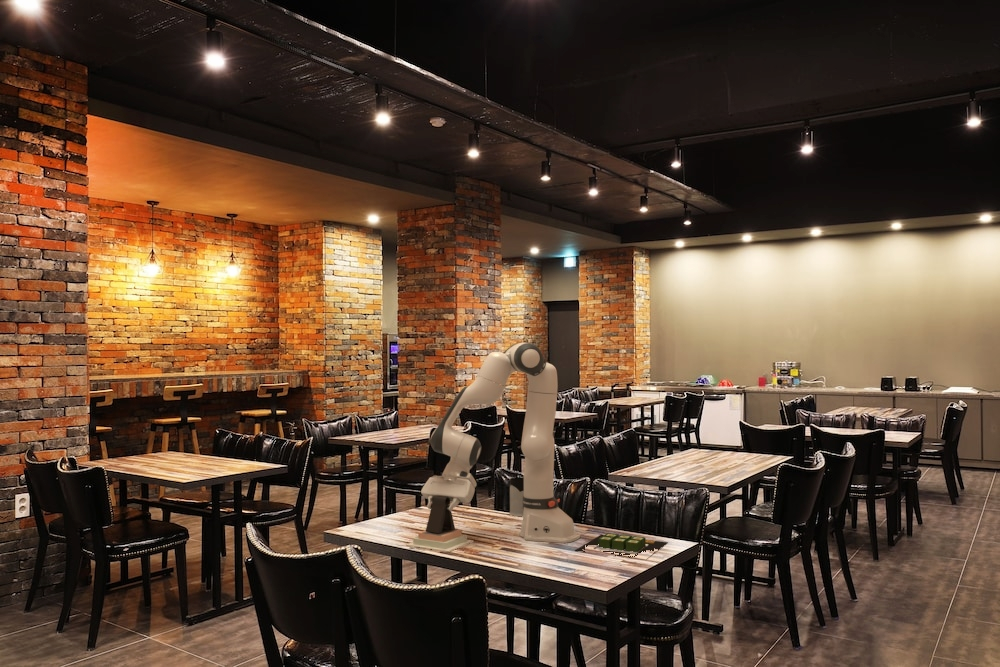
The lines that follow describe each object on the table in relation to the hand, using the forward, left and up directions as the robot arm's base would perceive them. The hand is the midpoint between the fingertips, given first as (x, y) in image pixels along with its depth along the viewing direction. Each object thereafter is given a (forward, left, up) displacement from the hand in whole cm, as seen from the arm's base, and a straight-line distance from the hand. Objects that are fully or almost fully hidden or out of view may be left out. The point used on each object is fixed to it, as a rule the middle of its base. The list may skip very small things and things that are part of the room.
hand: (439, 509), depth 262 cm
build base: (0, -1, -12) cm, 12 cm away
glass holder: (-3, -59, -13) cm, 60 cm away
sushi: (-58, -27, -13) cm, 65 cm away
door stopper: (0, -1, -8) cm, 8 cm away
